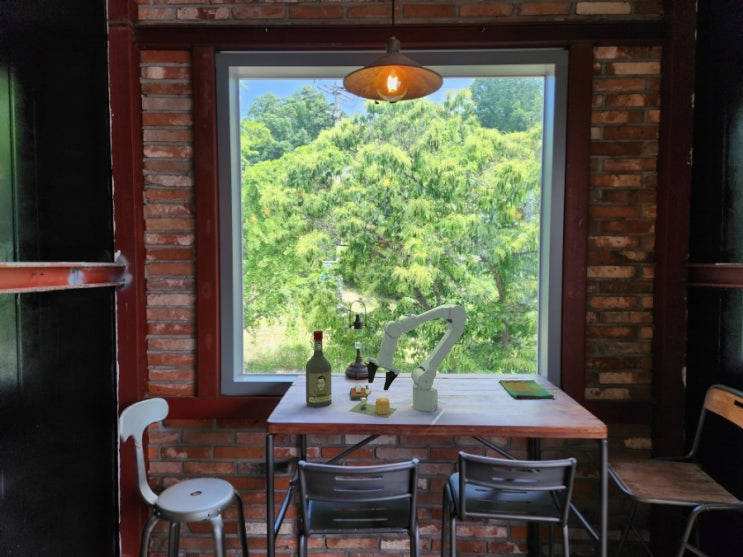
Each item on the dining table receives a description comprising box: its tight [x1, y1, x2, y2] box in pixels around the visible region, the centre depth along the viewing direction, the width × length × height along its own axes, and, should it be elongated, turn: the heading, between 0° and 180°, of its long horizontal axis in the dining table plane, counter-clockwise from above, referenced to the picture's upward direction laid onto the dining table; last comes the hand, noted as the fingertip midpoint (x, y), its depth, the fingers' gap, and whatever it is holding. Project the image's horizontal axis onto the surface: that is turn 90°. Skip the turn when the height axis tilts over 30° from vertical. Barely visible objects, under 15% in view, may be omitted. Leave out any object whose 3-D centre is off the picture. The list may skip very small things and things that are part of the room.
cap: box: [375, 397, 391, 414], centre depth 164 cm, size 5×5×4 cm
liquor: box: [305, 330, 333, 409], centre depth 172 cm, size 9×9×30 cm
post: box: [359, 397, 368, 410], centre depth 167 cm, size 2×2×4 cm
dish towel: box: [498, 379, 555, 400], centre depth 192 cm, size 17×23×2 cm
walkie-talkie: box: [349, 384, 371, 401], centre depth 185 cm, size 9×4×20 cm
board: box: [348, 402, 398, 419], centre depth 166 cm, size 16×10×1 cm, turn 65°
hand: (377, 386), depth 165 cm, fingers open, 7 cm apart
